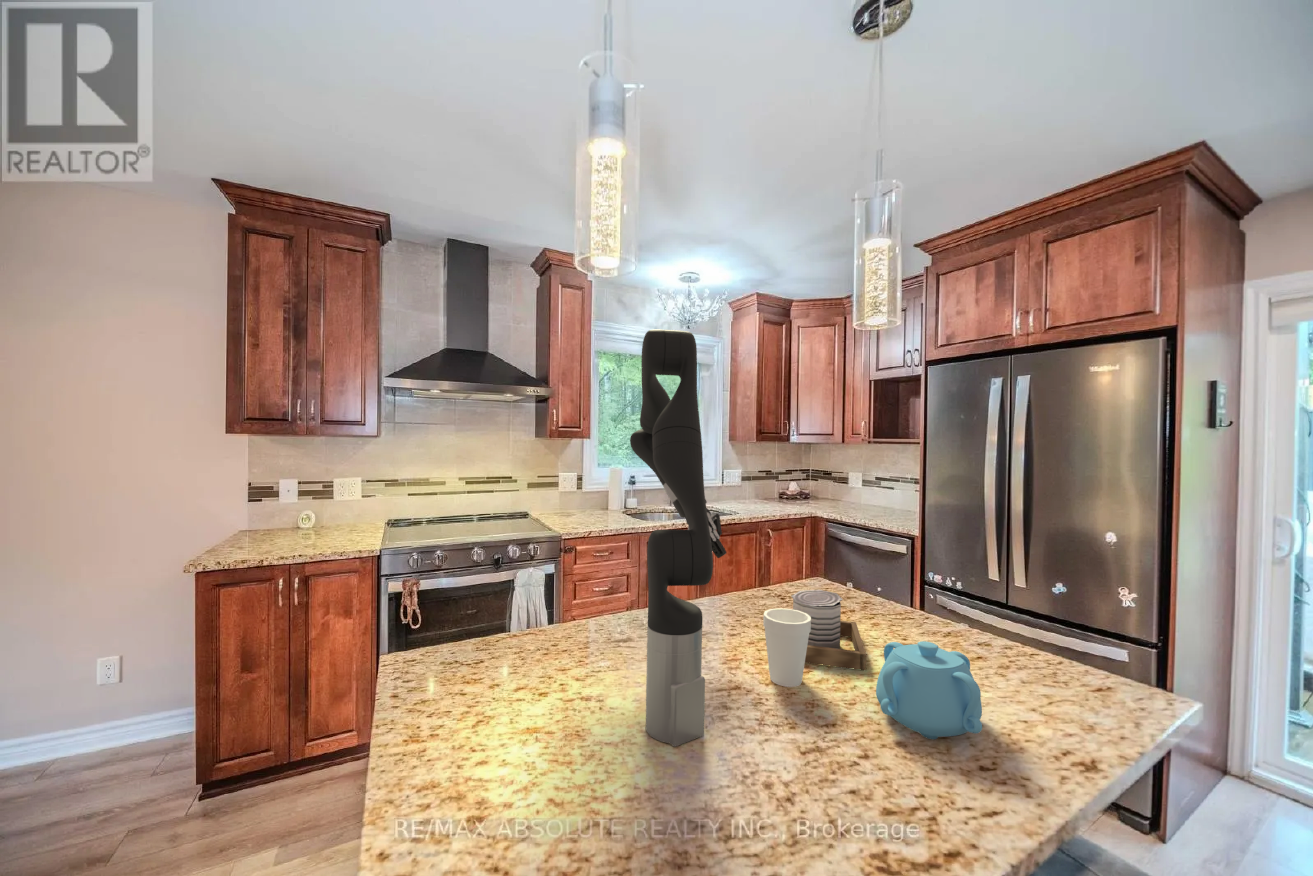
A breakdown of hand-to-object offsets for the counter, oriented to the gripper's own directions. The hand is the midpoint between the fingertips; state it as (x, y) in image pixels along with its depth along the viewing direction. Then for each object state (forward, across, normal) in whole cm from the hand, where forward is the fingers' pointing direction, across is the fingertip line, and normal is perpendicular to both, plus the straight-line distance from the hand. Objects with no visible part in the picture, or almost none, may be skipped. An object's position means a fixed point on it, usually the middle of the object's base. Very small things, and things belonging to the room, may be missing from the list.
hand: (722, 555), depth 122 cm
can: (+29, +10, -2) cm, 31 cm away
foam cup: (+27, -11, -5) cm, 30 cm away
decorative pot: (+42, -10, -26) cm, 50 cm away
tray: (+29, +10, -2) cm, 31 cm away
